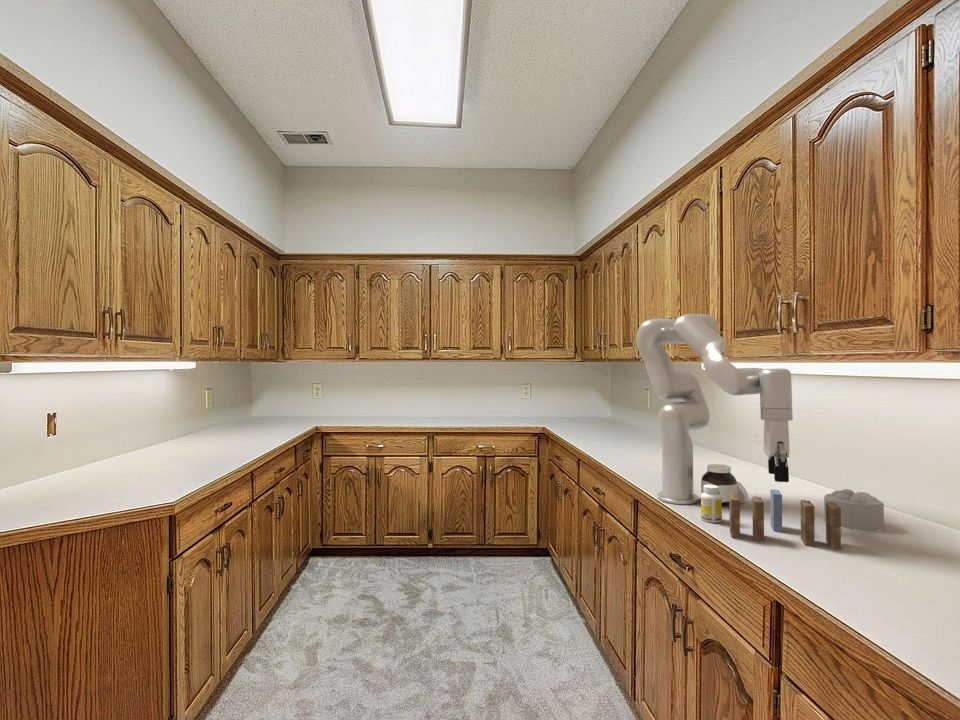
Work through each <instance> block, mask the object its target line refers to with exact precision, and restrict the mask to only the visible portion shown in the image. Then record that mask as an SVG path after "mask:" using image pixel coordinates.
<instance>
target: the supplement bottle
mask: <svg viewBox="0 0 960 720" xmlns="http://www.w3.org/2000/svg"><path fill="white" fill-rule="evenodd" d="M703 490H704V493H702V494H701V495H700V511H701V512H700V516H701V520H702V521H704V522H706V523H712V524H718V523H721V522H722V521H723V513H722V512H723V509H722V507H723V506H722V499H721V495H720V494H718V492H719V487H718V486H716V485H704V486H703Z"/></svg>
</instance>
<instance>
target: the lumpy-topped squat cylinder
mask: <svg viewBox="0 0 960 720" xmlns="http://www.w3.org/2000/svg"><path fill="white" fill-rule="evenodd" d="M826 502H833V503H836V504H837V505H838V506H839V507H840V508H841V528H842V527H843V528H844V529H848V528H849V529H848V530H855V529H856V530H857V531H868V530H872V531H873V530H875V531H873V532H877V530H881V531H884V530H885V526H884V525H885V509H884V508H885V504H884V502H883V501H881V500H879V499H878V498H877V497H875V496H873V495H871V494H870V493H868V492H863V491H858V492H854V491H853V490H852V489H848V488H844V489H842V490H834V491H833V492H831V493H828V494H825V495H824V496H823V521H824V522H825V523H826ZM843 528H842V529H843ZM883 529H884V530H883ZM872 531H871V532H872Z"/></svg>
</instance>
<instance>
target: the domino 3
mask: <svg viewBox="0 0 960 720" xmlns="http://www.w3.org/2000/svg"><path fill="white" fill-rule="evenodd" d="M815 530H816V529H815V505H814V504H813V503H812V502H811V501H810V500H806V499H800V540H801V542H802V544H804V546H806V547H813V548H814V547H815V546H816V545H815V539H816V538H815V537H816V535H815Z"/></svg>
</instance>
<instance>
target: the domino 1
mask: <svg viewBox="0 0 960 720" xmlns="http://www.w3.org/2000/svg"><path fill="white" fill-rule="evenodd" d="M728 507H729V535H730V534H731V535H730V538H731V537H732V538H731V539H736V538H740V539H741V502H740V500H739V497H738V495H729V506H728Z"/></svg>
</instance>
